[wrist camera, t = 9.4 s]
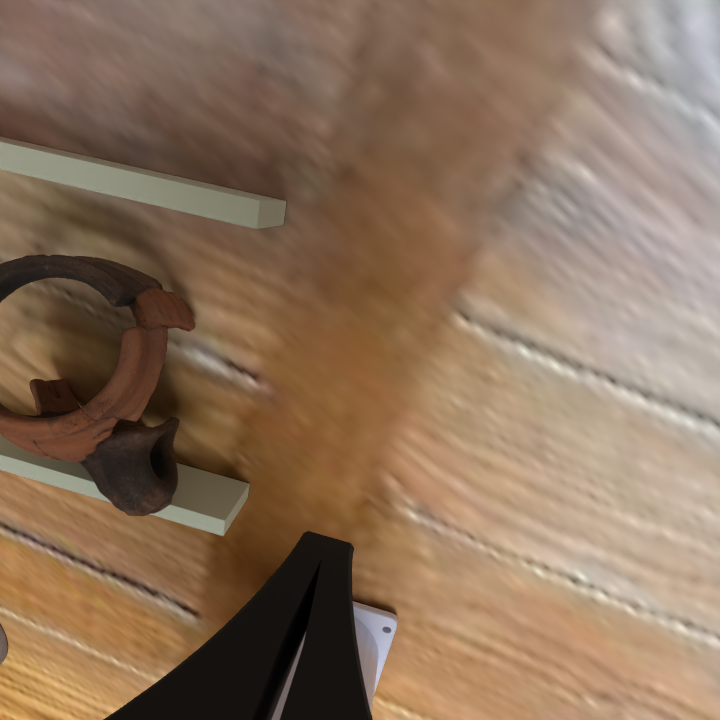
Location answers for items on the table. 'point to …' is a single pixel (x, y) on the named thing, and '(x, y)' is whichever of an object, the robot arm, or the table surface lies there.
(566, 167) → the table surface
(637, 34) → the table surface
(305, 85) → the table surface
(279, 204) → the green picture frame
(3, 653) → the pillar candle
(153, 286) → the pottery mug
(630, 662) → the table surface
